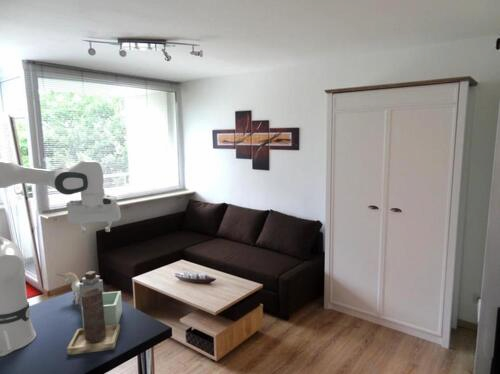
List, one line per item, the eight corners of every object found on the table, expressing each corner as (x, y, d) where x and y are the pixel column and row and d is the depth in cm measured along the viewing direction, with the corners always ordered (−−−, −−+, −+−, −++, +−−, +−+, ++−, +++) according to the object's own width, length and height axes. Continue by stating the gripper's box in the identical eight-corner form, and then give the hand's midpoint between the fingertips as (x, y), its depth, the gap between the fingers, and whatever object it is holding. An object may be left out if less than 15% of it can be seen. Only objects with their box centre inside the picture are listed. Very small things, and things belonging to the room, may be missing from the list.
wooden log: (98, 346, 125) (94, 296, 122) (80, 344, 127) (76, 294, 124) (110, 334, 133) (106, 286, 130) (93, 332, 134) (89, 285, 131)
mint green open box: (83, 331, 137) (81, 308, 135) (91, 314, 149) (89, 293, 148) (117, 327, 139) (115, 305, 138) (122, 311, 152) (120, 291, 151)
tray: (67, 355, 122) (67, 348, 122) (78, 334, 135) (77, 328, 134) (114, 349, 125) (113, 343, 125) (120, 329, 138) (119, 324, 137)
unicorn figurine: (72, 293, 170) (69, 268, 168) (97, 302, 160) (94, 276, 158) (58, 299, 164) (55, 273, 162) (83, 309, 154) (80, 282, 152)
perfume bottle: (93, 314, 150) (90, 276, 147) (81, 312, 152) (78, 274, 149) (104, 307, 156) (101, 270, 153) (92, 305, 158) (89, 268, 155)
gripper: (63, 202, 133) (66, 235, 135) (117, 200, 137) (119, 232, 139) (68, 199, 139) (71, 231, 141) (120, 197, 143) (122, 228, 145)
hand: (95, 232), depth 140 cm, fingers open, 8 cm apart
